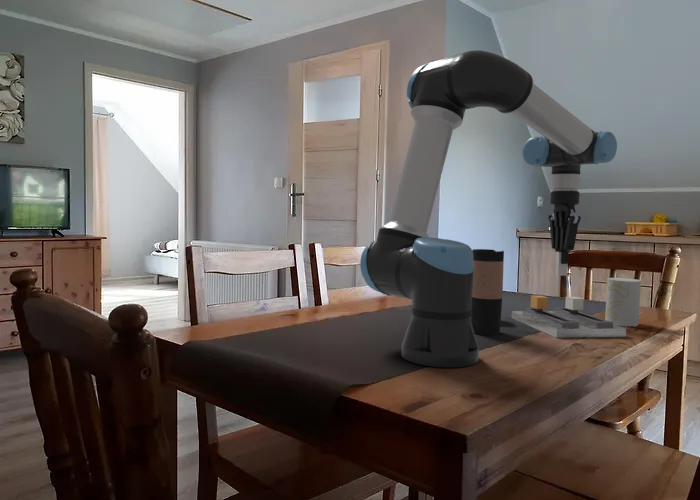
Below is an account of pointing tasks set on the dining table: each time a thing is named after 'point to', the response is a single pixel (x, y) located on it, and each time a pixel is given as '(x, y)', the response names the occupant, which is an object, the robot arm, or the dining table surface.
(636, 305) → the cup
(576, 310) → the fader right
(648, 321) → the dining table surface
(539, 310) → the block
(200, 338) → the dining table surface
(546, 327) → the console
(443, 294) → the robot arm
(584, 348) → the dining table surface
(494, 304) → the travel mug
